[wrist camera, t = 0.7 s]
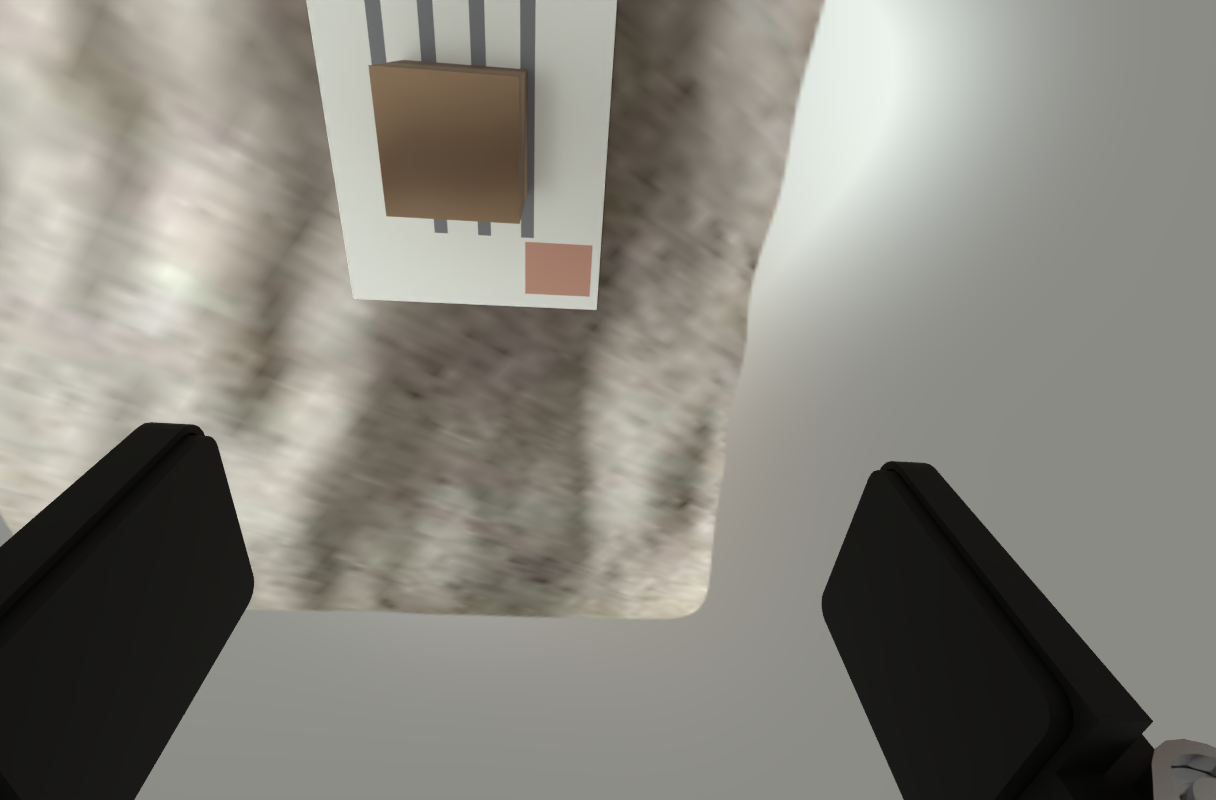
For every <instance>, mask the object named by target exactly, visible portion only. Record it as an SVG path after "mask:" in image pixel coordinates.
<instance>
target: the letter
mask: <svg viewBox="0 0 1216 800" xmlns="http://www.w3.org/2000/svg"><path fill="white" fill-rule="evenodd" d="M306 2H307V8H308V15H309V21H310V28H311V34H312V40H313V47H314V53H315V59H316V66H317V72H318V78H319V85H320V91H321V97H322V104H323V110H324V116H325V123H326V129H327V135H328V142H329V148H330V154H331V161H332V167H333V173H334V180H335V186H336V192H337V199H338V205H339V211H340V218H341V224H342V230H343V237H344V243H345V249H346V256H347V262H348V269H349V275H350V281H351V288H352V294H353V299H368V300H390V301H412V302H434V303H455V304H477V305H499V306H521V307H543V308H565V309H587V310H597V297H598V282H599V267H600V252H601V236H602V221H603V206H604V191H605V176H606V161H607V145H608V130H609V115H610V100H611V85H612V70H613V55H614V39H615V24H616V9H617V0H306ZM400 60H412V61H425V62H438V63H451V64H463V65H476V66H489V67H502V68H515V69H528V194H527V198H526V202H525V205H524V209H523V213H522V217H521V220H520V224H513V223H495V222H478V221H460V220H443V219H425V218H408V217H390V216H386V210H385V201H384V193H383V185H382V176H381V168H380V159H379V151H378V142H377V134H376V125H375V117H374V109H373V100H372V92H371V83H370V75H369V66H368V65H374V64H381V63H387V62H393V61H400Z"/></svg>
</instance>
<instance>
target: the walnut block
mask: <svg viewBox="0 0 1216 800" xmlns="http://www.w3.org/2000/svg"><path fill="white" fill-rule="evenodd" d="M368 66H369V75H370V83H371V92H372V100H373V109H374V117H375V125H376V134H377V142H378V151H379V159H380V168H381V176H382V185H383V193H384V201H385V210H386V216H390V217H408V218H425V219H443V220H460V221H478V222H495V223H513V224H520V220H521V217H522V213H523V209H524V205H525V202H526V198H527V194H528V69H515V68H502V67H489V66H476V65H463V64H451V63H438V62H425V61H412V60H400V61H393V62H387V63H381V64H374V65H368Z"/></svg>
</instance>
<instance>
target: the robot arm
mask: <svg viewBox="0 0 1216 800" xmlns="http://www.w3.org/2000/svg"><path fill="white" fill-rule="evenodd" d="M253 589H254V577H253V573H252V569H251V565H250V562H249V558H248V554H247V551H246V547H245V543H244V540H243V536H242V533H241V529H240V525H239V522H238V518H237V514H236V511H235V507H234V503H233V500H232V496H231V493H230V489H229V485H228V482H227V478H226V474H225V471H224V467H223V464H222V460H221V456H220V453H219V449H218V446H217V443H216V441H215V440H214V439H213V438H212V437H209V436H205V435H204V432H203V431H202V430H201V429H200V428H199V427H198V426H196V425H191V424H172V423H153V422H151V423H144V424H143V425H141V426H139V427H138V428H137V429H135V430H134V431H133V432H132V433H131V434H130V435H129V436H127V437H126V438H125V439H124V440H123V441H122V442H120V443H119V444H118V445H117V446H116V447H115V448H114V449H112V450H111V451H110V452H109V453H108V454H107V455H106V456H104V457H103V458H102V459H101V460H100V461H99V462H97V463H96V464H95V465H94V466H93V467H92V468H91V469H89V470H88V471H87V472H86V473H85V474H84V475H83V476H81V477H80V478H79V479H78V480H77V481H76V482H74V483H73V484H72V485H71V486H70V487H69V488H68V489H66V490H65V491H64V492H63V493H62V494H61V495H60V496H58V497H57V498H56V499H55V500H54V501H53V502H51V503H50V504H49V505H48V506H47V507H46V508H45V509H43V510H42V511H41V512H40V513H39V514H38V515H37V516H35V517H34V518H33V519H32V520H31V521H30V522H28V523H27V524H26V525H25V526H24V527H23V528H22V529H20V530H19V531H18V532H17V533H16V534H15V535H14V536H12V537H11V538H10V539H9V540H8V541H7V542H5V543H4V544H3V545H2V546H1V547H0V800H134V799H135V798H136V796H137V794H138V792H139V791H140V789H141V787H142V786H143V784H144V782H145V780H146V779H147V777H148V775H149V774H150V772H151V770H152V768H153V767H154V765H155V763H156V762H157V760H158V758H159V757H160V755H161V753H162V751H163V750H164V748H165V746H166V745H167V743H168V741H169V739H170V738H171V736H172V734H173V733H174V731H175V729H176V727H177V725H178V724H179V722H180V721H181V719H182V717H183V715H184V714H185V712H186V710H187V709H188V707H189V705H190V703H191V702H192V700H193V698H194V697H195V695H196V693H197V691H198V690H199V688H200V686H201V684H202V683H203V681H204V679H205V678H206V676H207V674H208V673H209V671H210V669H211V667H212V666H213V664H214V662H215V661H216V659H217V657H218V656H219V654H220V652H221V650H222V649H223V647H224V645H225V644H226V642H227V640H228V638H229V637H230V635H231V633H232V632H233V630H234V628H235V626H236V625H237V623H238V621H239V620H240V618H241V616H242V614H243V613H244V611H245V609H246V608H247V606H248V604H249V602H250V600H251V597H252V594H253ZM822 612H823V616H824V619H825V622H826V624H827V626H828V629H829V631H830V633H831V635H832V638H833V640H834V642H835V645H836V647H837V649H838V651H839V654H840V656H841V658H842V660H843V663H844V665H845V667H846V669H847V672H848V674H849V676H850V679H851V681H852V683H853V685H854V688H855V690H856V692H857V694H858V697H859V699H860V701H861V703H862V706H863V708H864V710H865V713H866V715H867V717H868V719H869V722H870V724H871V726H872V729H873V731H874V733H875V735H876V737H877V740H878V742H879V744H880V747H881V749H882V751H883V753H884V756H885V758H886V760H887V762H888V765H889V767H890V769H891V772H892V774H893V776H894V778H895V781H896V783H897V785H898V788H899V790H900V792H901V794H902V796H903V799H904V800H1216V748H1215V747H1212V746H1210V745H1208V744H1204V743H1200V742H1195V741H1190V740H1186V739H1177V740H1168V741H1165V742H1163V743H1162V744H1161V745H1159V746H1158V747H1157V748H1155V749H1154V748H1153V747H1152V746H1151V745H1150V743H1148V741H1147V740H1146V738H1145V737H1144V736H1143V735H1142V733H1143V732H1144V731H1145V730H1146V729H1147V728H1148V726H1149V725H1150V724H1151V723H1152V722H1153V721H1152V720H1151V718H1150V717H1149V716H1148V715H1147V714H1146V713H1145V712H1144V710H1143V709H1142V708H1141V707H1140V706H1139V705H1138V703H1137V702H1136V701H1135V700H1134V699H1133V698H1132V697H1131V695H1130V694H1129V693H1128V692H1127V691H1126V689H1125V688H1124V687H1123V686H1122V685H1121V684H1120V682H1119V681H1118V680H1117V679H1116V678H1115V677H1114V676H1113V675H1112V673H1111V672H1110V671H1109V670H1108V669H1107V667H1106V666H1105V665H1104V664H1103V663H1102V662H1101V661H1100V659H1099V658H1098V657H1097V656H1096V655H1095V654H1094V652H1093V651H1092V650H1091V649H1090V648H1089V646H1088V645H1087V644H1086V643H1085V642H1084V641H1083V640H1082V638H1081V637H1080V636H1079V635H1078V634H1077V633H1076V632H1075V630H1074V629H1073V628H1072V627H1071V626H1070V624H1069V623H1068V622H1067V621H1066V620H1065V619H1064V617H1063V616H1062V615H1061V614H1060V613H1059V612H1058V611H1057V609H1056V608H1055V607H1054V606H1053V605H1052V604H1051V602H1050V601H1049V600H1048V599H1047V598H1046V597H1045V595H1044V594H1043V593H1042V592H1041V591H1040V590H1039V589H1038V587H1037V586H1036V585H1035V584H1034V583H1033V582H1032V580H1031V579H1030V578H1029V577H1028V576H1027V575H1026V573H1024V571H1023V570H1022V569H1021V568H1020V567H1019V565H1018V564H1017V563H1016V562H1015V561H1014V560H1013V558H1012V557H1011V556H1010V555H1009V554H1008V553H1007V551H1006V550H1005V549H1004V548H1003V547H1002V546H1001V545H1000V543H999V542H998V541H997V540H996V539H995V538H994V536H993V535H992V534H991V533H990V532H989V531H988V529H987V528H986V527H985V526H984V525H983V524H982V522H981V521H980V520H979V519H978V518H977V517H976V516H975V514H974V513H973V512H972V511H971V510H970V508H968V506H967V505H966V504H965V503H964V502H963V500H962V499H961V498H960V497H959V496H958V495H957V493H956V492H955V491H954V490H953V489H952V488H951V487H950V485H949V484H948V483H947V482H946V481H945V480H944V478H943V477H942V476H941V475H940V474H939V473H938V471H937V470H936V469H935V468H934V467H933V466H931V465H930V464H926V463H914V462H894V461H890V462H887V463H885V464H884V465H883V466H882V467H881V469H880V470H877V471H874V472H873V473H872V474H871V475H870V477H869V479H868V481H867V484H866V486H865V489H864V491H863V494H862V497H861V499H860V501H859V504H858V507H857V509H856V511H855V514H854V517H853V519H852V522H851V524H850V527H849V529H848V532H847V534H846V537H845V539H844V542H843V544H842V547H841V550H840V552H839V555H838V557H837V560H836V562H835V565H834V567H833V570H832V573H831V575H830V577H829V580H828V583H827V585H826V587H825V590H824V593H823V596H822Z"/></svg>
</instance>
